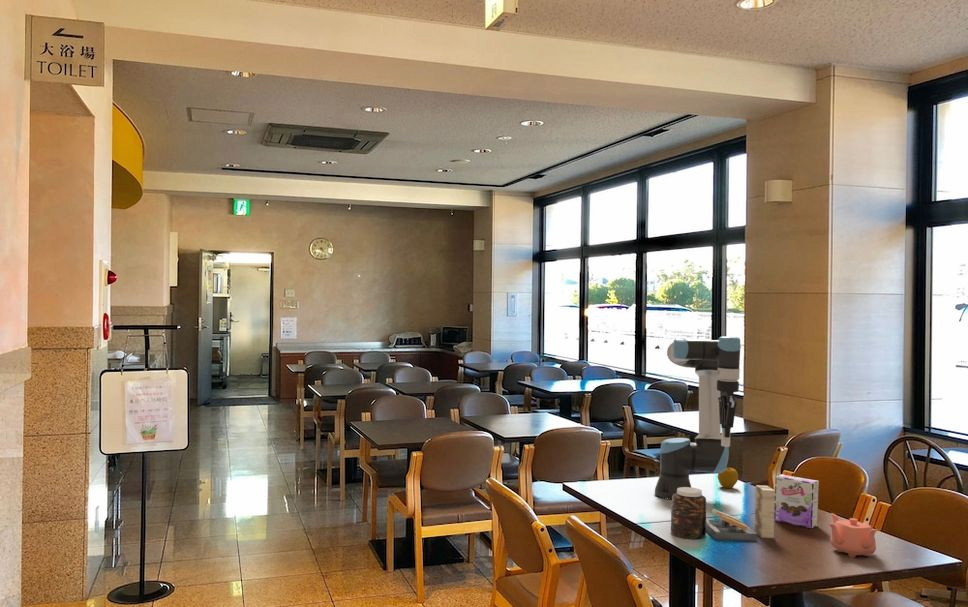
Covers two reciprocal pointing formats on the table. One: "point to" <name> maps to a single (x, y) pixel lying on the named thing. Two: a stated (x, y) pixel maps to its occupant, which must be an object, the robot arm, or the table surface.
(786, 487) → the candy box
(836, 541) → the pink rounded pig figure
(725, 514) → the paddle far
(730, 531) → the grey square base
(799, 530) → the table surface
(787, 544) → the table surface
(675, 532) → the jar
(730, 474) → the apple
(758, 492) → the birch block
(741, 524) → the orange wooden board
